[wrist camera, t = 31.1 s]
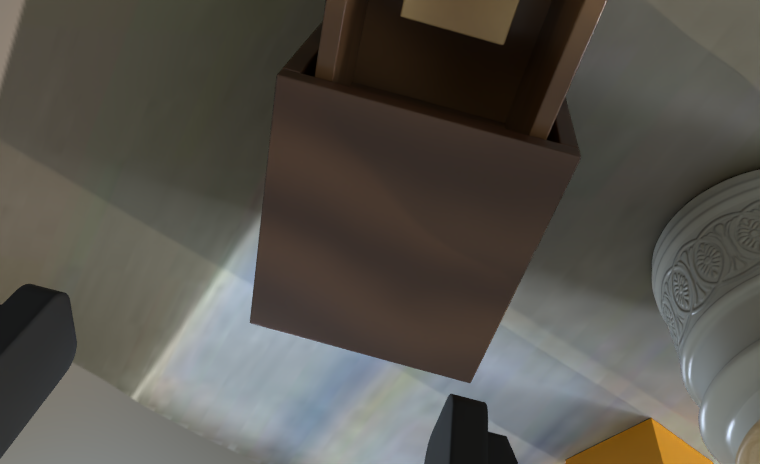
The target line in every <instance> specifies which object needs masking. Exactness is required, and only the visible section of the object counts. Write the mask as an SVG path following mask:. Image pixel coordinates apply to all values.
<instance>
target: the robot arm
mask: <svg viewBox="0 0 760 464" xmlns="http://www.w3.org/2000/svg"><path fill="white" fill-rule="evenodd" d="M76 347H77V340H76V334H75V328H74V322H73V316H72V310H71V304H70V299H69V296H68V295H67V294H66V293H64V292H60V291H56V290H52V289H48V288H44V287H40V286H36V285H33V284H25V285H23V286H21V287H20V288H19V289H17V290H16V291H15V292H14V293H13V294H12V295H11V296H10V297H9V298H8V299H7V300H6V301H5V302H4V303H3V304H2V305H0V458H1V457H2V456H3V454H4V453H5V452H6V450H7V449H8V448H9V447H10V445H11V444H12V443H13V441H14V440H15V438H16V437H17V436H18V435H19V433H20V432H21V431H22V430H23V428H24V427H25V426H26V424H27V423H28V422H29V420H30V419H31V418H32V416H33V415H34V414H35V412H36V411H37V410H38V409H39V407H40V406H41V405H42V403H43V402H44V401H45V399H46V398H47V397H48V395H49V394H50V393H51V392H52V390H53V389H54V388H55V386H56V385H57V384H58V382H59V381H60V380H61V378H62V377H63V376H64V375H65V373H66V372H67V370H68V369H69V367H70V365H71V363H72V361H73V359H74V356H75V352H76ZM424 464H518V462H517V459H516V457H515V455H514V453H513V450H512V448H511V446H510V443H509V441H508V439H507V436H503V435H499V434H495V433H491V432H488V409H487V404H486V403H485V402H481V401H477V400H473V399H469V398H466V397H462V396H458V395H454V394H450V395H449V396H448V398H447V400H446V402H445V405H444V407H443V409H442V411H441V414H440V416H439V418H438V420H437V423H436V425H435V427H434V429H433V432H432V434H431V437H430V440H429V443H428V447H427V451H426V456H425V463H424Z"/></svg>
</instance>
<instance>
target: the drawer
mask: <svg viewBox="0 0 760 464" xmlns="http://www.w3.org/2000/svg"><path fill="white" fill-rule="evenodd" d="M607 1H608V0H520V1H519V4H518V7H517V10H516V13H515V15H514V18H513V21H512V24H511V26H510V29H509V32H508V35H507V38H506V40H505V43H504V45H499V44H496V43H492V42H489V41H485V40H481V39H478V38H474V37H471V36H467V35H464V34H460V33H457V32H453V31H449V30H446V29H442V28H439V27H435V26H432V25H428V24H425V23H421V22H418V21H414V20H410V19H407V18H403V17H401V16H400V13H401V9H402V4H403V0H326V4H325V10H324V17H323V24H322V30H321V37H320V43H319V50H318V57H317V63H316V70H315V77H316V78H320V79H324V80H327V81H331V82H335V83H338V84H342V85H346V86H349V87H353V88H357V89H360V90H364V91H368V92H371V93H375V94H379V95H382V96H386V97H390V98H394V99H397V100H401V101H405V102H408V103H412V104H416V105H419V106H423V107H427V108H430V109H434V110H438V111H441V112H445V113H449V114H452V115H456V116H460V117H463V118H467V119H471V120H474V121H478V122H482V123H486V124H489V125H493V126H497V127H500V128H504V129H508V130H511V131H515V132H519V133H522V134H526V135H530V136H533V137H537V138H541V139H544V140H547V137H548V135H549V133H550V130H551V128H552V126H553V124H554V121H555V119H556V117H557V114H558V112H559V110H560V108H561V105H562V103H563V101H564V99H565V96H566V94H567V92H568V89H569V87H570V85H571V83H572V80H573V78H574V76H575V74H576V71H577V69H578V67H579V64H580V62H581V60H582V58H583V55H584V53H585V51H586V48H587V46H588V44H589V42H590V39H591V37H592V35H593V33H594V30H595V28H596V26H597V23H598V21H599V19H600V17H601V14H602V12H603V10H604V7H605V5H606V3H607Z"/></svg>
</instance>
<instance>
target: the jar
mask: <svg viewBox="0 0 760 464" xmlns="http://www.w3.org/2000/svg"><path fill="white" fill-rule="evenodd" d="M652 289H653V294H654V297H655V300H656V303H657V307H658V309H659V311H660V314H661V315H662V317H663V319H664V320H665V322H666V323H667V326H668V328H669V331H670V334H671V337H672V340H673V343H674V346H675V349H676V352H677V355H678V358H679V360H680V364H681V375H682V379H683V382H684V385H685V387H686V390H687V392H688V393H689V395H690V397H691V398H692V399H693V401H694V402H695V403H696V404H697V405H698V407H699V408H700V409H699V429H700V434H701V437H702V440H703V442H704V444H705V446H706V448H707V449H708V451H709V452H710V453H711V455H712V456H713V457H714V458H715V459H716V460H717V461H718V462H719V463H720V464H760V170H755V171H751V172H748V173H744V174H741V175H738V176H736V177H733V178H730V179H728V180H726V181H723V182H721V183H719V184H717V185H715V186H713V187H711V188H710V189H708V190H706V191H704V192H703V193H701V194H700V195H698V196H697V197H695V198H694V199H693V200H691V201H690V202H689V203H688V204H686V205H685V206H684V207H683V208H682V209H681V210H680V211H679V212H678V213H677V214H676V215H675V216H674V217H673V218H672V219H671V220H670V222H669V223H668V224H667V226H666V227H665V229H664V230H663V232H662V233H661V235H660V237H659V239H658V241H657V244H656V246H655V249H654V253H653V258H652Z"/></svg>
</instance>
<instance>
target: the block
mask: <svg viewBox="0 0 760 464" xmlns="http://www.w3.org/2000/svg"><path fill="white" fill-rule="evenodd" d="M519 1H520V0H403V4H402V9H401V13H400V16H401V17H403V18H407V19H410V20H414V21H418V22H421V23H425V24H428V25H432V26H435V27H439V28H442V29H446V30H449V31H453V32H457V33H460V34H464V35H467V36H471V37H474V38H478V39H481V40H485V41H489V42H492V43H496V44H499V45H504V43H505V40H506V38H507V35H508V32H509V29H510V26H511V24H512V21H513V18H514V15H515V13H516V10H517V7H518V4H519Z"/></svg>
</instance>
